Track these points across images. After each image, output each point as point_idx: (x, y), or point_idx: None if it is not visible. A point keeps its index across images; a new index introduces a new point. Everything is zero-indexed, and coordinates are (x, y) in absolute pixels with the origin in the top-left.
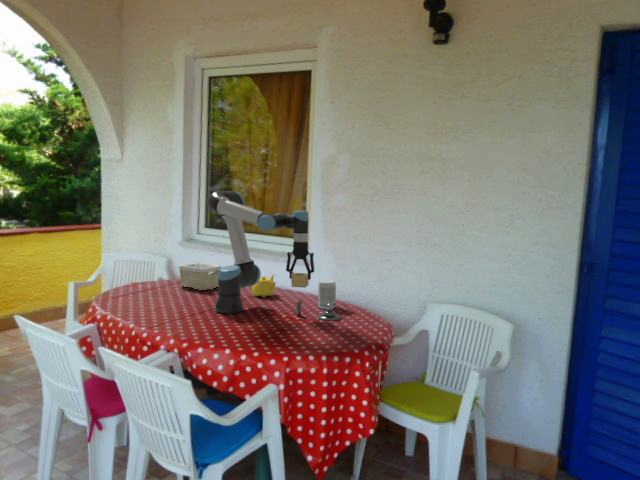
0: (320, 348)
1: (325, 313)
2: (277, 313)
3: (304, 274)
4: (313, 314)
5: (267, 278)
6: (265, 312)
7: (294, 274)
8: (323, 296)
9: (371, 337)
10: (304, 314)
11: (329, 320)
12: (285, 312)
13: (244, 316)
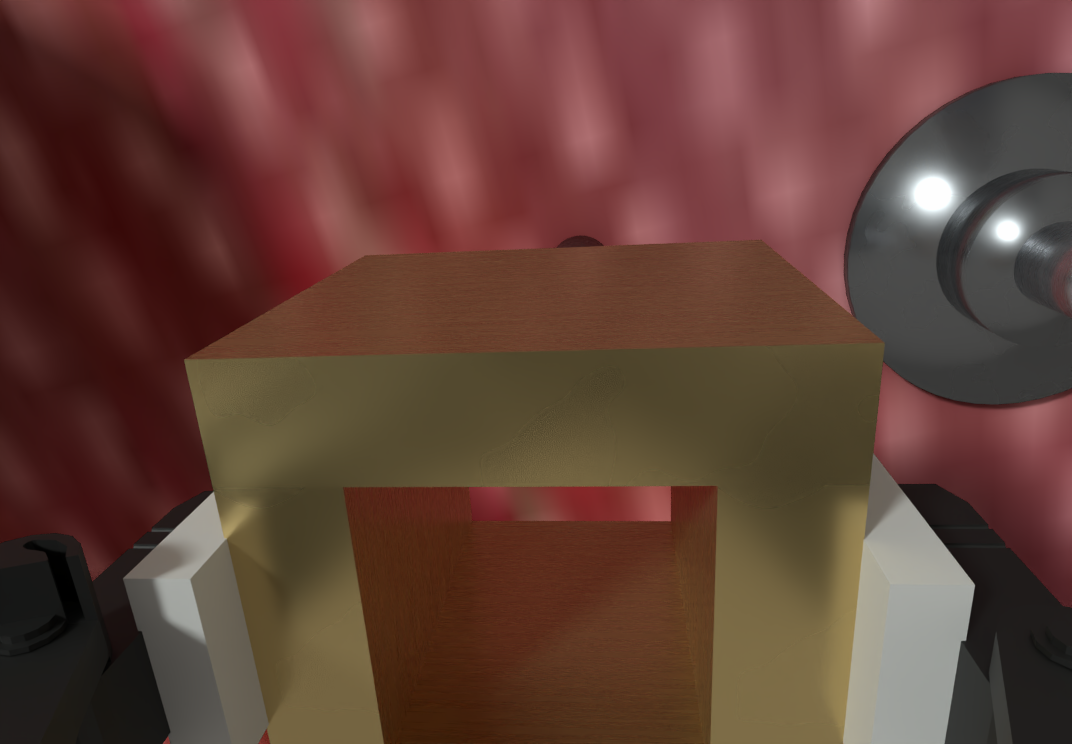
0: None
1: (985, 327)
2: (288, 235)
3: (732, 612)
4: (769, 151)
5: None
6: (133, 229)
7: (315, 696)
8: None
9: None
10: (642, 186)
11: (1010, 399)
12: (367, 157)
13: (13, 447)
